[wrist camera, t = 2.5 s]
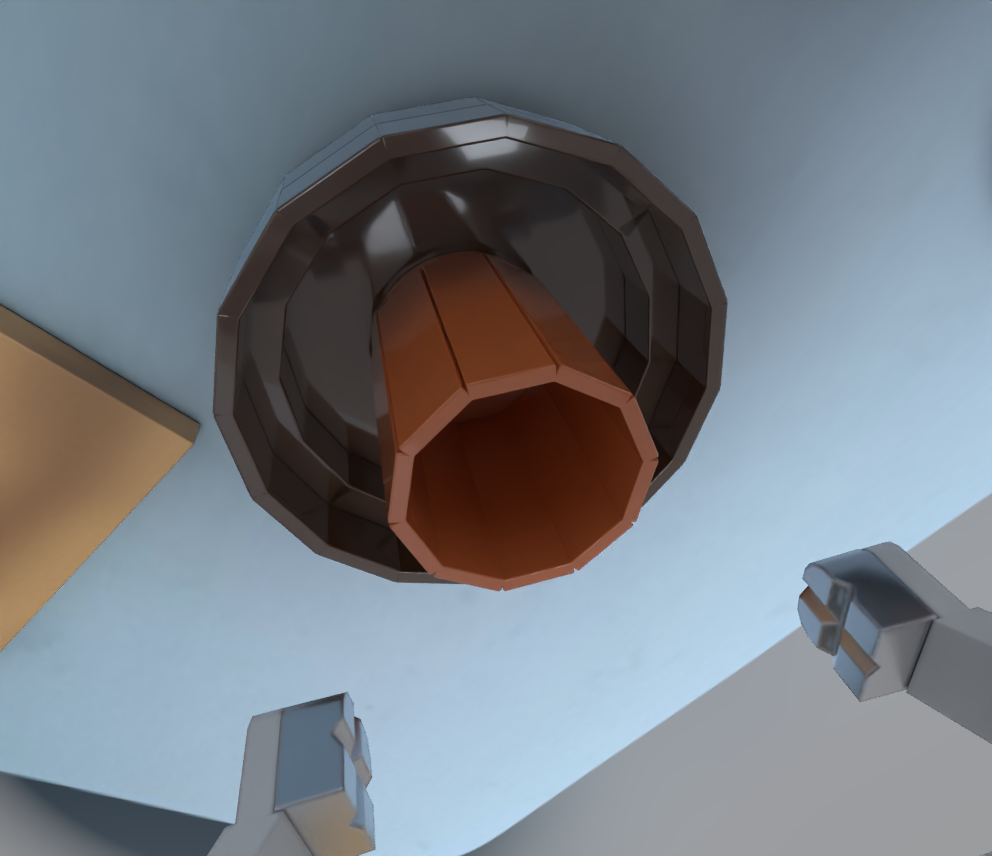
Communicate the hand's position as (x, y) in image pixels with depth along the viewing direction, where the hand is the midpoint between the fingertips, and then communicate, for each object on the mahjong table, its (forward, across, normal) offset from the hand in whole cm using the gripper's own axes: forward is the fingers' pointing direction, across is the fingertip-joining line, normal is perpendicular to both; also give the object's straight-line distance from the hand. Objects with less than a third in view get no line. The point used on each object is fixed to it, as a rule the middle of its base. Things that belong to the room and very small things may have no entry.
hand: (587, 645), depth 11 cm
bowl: (+13, 0, 0) cm, 13 cm away
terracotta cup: (+12, 0, 0) cm, 12 cm away
